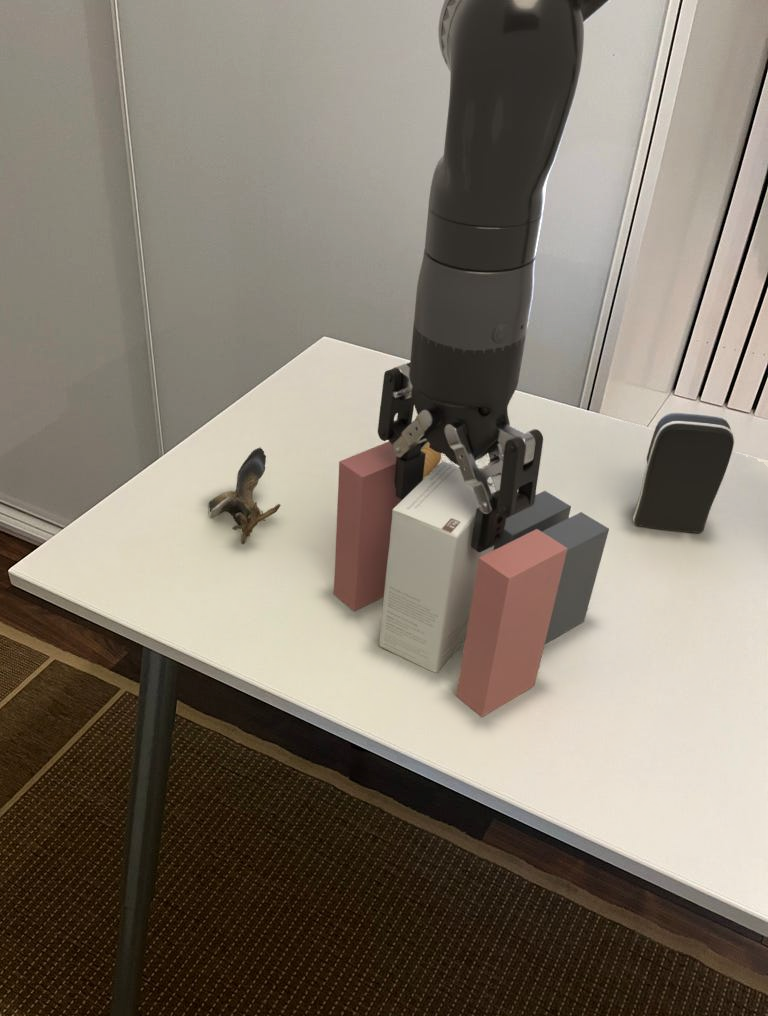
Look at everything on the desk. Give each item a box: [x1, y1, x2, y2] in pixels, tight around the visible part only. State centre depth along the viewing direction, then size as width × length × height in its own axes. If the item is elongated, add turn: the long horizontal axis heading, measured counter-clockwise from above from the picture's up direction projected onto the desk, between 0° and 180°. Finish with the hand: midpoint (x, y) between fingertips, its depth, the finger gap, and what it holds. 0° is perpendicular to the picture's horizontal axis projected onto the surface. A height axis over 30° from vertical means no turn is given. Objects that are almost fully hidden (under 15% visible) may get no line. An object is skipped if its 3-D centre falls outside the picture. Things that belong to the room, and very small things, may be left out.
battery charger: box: [632, 412, 735, 534], centre depth 93 cm, size 7×4×11 cm, turn 78°
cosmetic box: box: [378, 461, 496, 674], centre depth 79 cm, size 8×6×15 cm
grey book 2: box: [542, 511, 610, 645], centre depth 81 cm, size 7×3×10 cm, turn 126°
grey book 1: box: [493, 490, 572, 550], centre depth 84 cm, size 7×3×10 cm, turn 126°
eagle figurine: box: [208, 446, 281, 545], centre depth 95 cm, size 8×7×9 cm
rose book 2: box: [455, 529, 567, 718], centre depth 74 cm, size 6×3×14 cm, turn 126°
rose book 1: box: [333, 440, 402, 612], centre depth 84 cm, size 6×3×14 cm, turn 126°
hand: (444, 520), depth 76 cm, fingers open, 8 cm apart
